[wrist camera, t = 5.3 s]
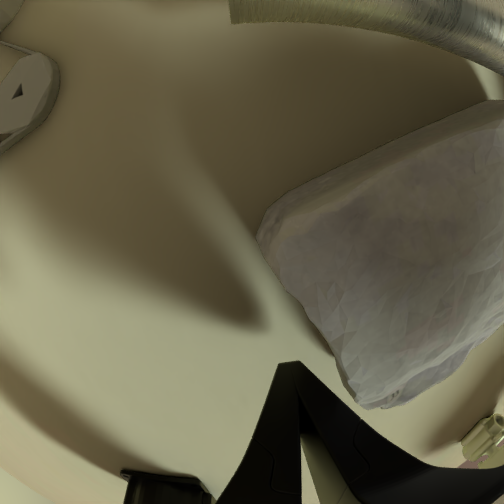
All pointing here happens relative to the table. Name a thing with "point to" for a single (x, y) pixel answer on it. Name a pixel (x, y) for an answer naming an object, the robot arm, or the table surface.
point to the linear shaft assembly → (398, 21)
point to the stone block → (400, 254)
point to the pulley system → (25, 87)
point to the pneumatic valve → (485, 442)
